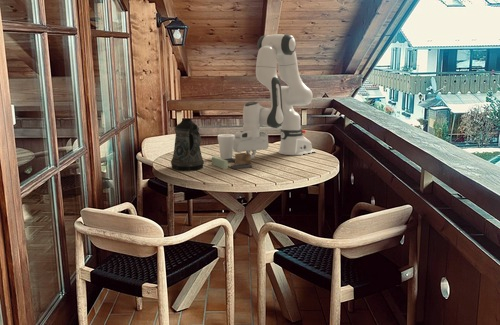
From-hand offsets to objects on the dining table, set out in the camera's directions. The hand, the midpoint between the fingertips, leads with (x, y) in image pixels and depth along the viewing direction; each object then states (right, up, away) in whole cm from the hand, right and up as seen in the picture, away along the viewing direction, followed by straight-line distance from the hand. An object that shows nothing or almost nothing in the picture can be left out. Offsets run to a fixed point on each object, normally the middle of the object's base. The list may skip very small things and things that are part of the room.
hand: (251, 158), depth 268 cm
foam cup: (-14, 0, +12) cm, 18 cm away
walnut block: (-4, -3, -2) cm, 5 cm away
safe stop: (-16, -4, -9) cm, 19 cm away
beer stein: (-31, -5, -13) cm, 34 cm away
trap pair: (-9, -3, -5) cm, 11 cm away
